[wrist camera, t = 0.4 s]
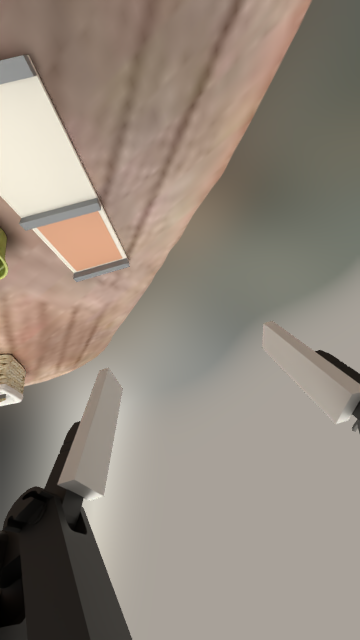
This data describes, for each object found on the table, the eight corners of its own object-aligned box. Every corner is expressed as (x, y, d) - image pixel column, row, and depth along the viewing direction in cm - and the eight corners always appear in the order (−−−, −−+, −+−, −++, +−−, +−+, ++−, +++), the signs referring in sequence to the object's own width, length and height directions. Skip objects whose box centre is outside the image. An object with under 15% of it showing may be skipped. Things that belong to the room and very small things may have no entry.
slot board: (-99, 84, 17) (-117, 87, 16) (28, 54, 18) (23, 55, 16) (77, 273, 42) (76, 281, 40) (128, 259, 42) (129, 266, 41)
